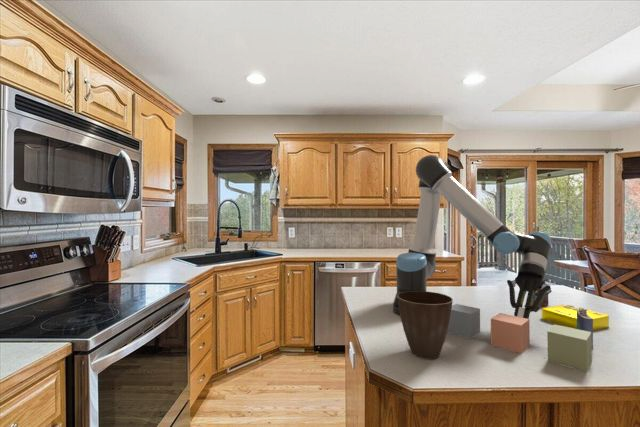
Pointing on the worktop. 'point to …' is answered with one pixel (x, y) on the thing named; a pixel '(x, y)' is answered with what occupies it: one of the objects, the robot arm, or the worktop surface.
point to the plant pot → (425, 321)
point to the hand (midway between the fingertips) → (518, 327)
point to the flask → (585, 322)
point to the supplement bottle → (544, 299)
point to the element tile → (573, 316)
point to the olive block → (570, 347)
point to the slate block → (464, 321)
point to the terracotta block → (510, 332)
